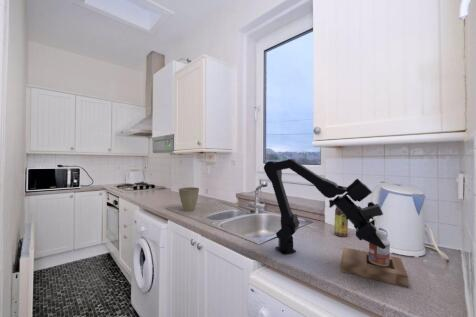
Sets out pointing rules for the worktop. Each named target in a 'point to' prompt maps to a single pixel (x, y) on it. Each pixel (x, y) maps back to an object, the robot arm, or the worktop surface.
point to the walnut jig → (373, 267)
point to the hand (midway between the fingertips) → (383, 244)
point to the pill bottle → (380, 250)
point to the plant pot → (189, 197)
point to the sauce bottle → (340, 223)
